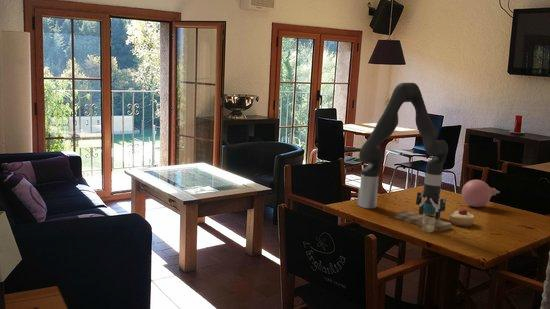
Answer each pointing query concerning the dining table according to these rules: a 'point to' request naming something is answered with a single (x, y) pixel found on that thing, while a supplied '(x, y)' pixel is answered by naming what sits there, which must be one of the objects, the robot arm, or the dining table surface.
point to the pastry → (462, 218)
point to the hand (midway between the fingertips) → (428, 216)
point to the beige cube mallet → (429, 224)
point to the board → (421, 220)
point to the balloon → (477, 193)
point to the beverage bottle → (429, 209)
